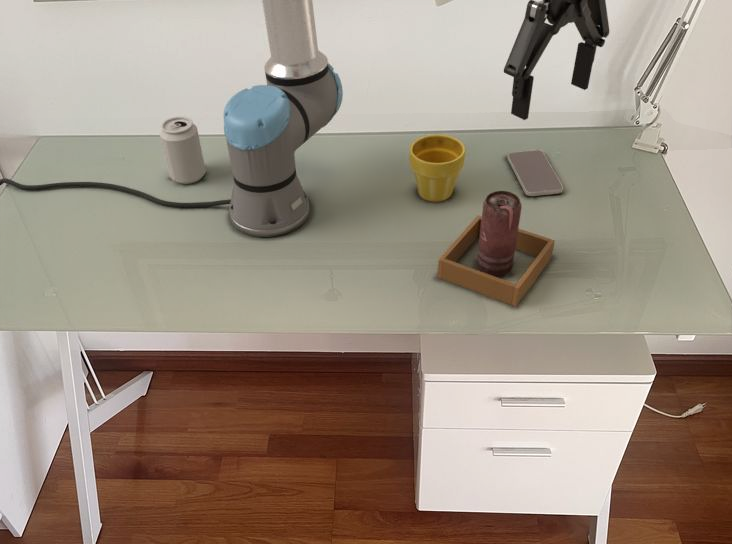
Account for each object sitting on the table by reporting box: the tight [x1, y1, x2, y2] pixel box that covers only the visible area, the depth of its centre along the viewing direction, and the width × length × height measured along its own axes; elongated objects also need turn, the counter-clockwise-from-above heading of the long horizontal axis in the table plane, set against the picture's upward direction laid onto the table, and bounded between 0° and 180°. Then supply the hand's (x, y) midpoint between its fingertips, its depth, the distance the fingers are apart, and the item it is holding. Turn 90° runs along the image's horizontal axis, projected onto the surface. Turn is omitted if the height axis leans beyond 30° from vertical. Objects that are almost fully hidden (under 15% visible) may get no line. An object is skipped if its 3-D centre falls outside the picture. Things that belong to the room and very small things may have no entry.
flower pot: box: [409, 133, 466, 203], centre depth 145 cm, size 10×10×10 cm
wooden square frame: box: [437, 215, 556, 308], centre depth 130 cm, size 15×15×4 cm
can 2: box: [476, 190, 522, 278], centre depth 126 cm, size 6×6×14 cm
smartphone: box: [506, 149, 564, 197], centre depth 150 cm, size 7×1×15 cm
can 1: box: [159, 116, 207, 185], centre depth 153 cm, size 8×8×12 cm
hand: (550, 101), depth 116 cm, fingers open, 13 cm apart
